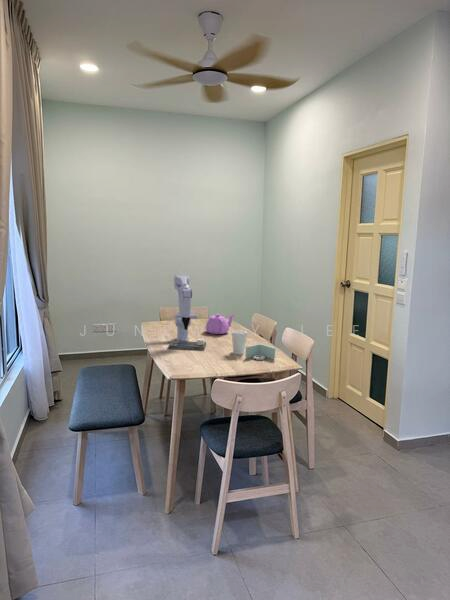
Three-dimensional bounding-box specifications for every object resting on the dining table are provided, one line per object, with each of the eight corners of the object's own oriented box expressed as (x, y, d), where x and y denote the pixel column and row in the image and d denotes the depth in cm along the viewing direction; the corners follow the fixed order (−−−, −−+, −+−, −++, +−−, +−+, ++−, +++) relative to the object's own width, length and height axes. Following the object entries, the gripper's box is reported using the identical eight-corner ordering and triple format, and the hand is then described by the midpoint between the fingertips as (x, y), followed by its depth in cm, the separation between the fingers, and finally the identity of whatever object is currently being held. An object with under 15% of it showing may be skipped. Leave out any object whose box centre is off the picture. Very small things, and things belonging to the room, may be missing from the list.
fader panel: (172, 343, 264) (172, 340, 264) (206, 345, 264) (206, 342, 263) (168, 348, 253) (168, 345, 252) (204, 350, 252) (204, 346, 252)
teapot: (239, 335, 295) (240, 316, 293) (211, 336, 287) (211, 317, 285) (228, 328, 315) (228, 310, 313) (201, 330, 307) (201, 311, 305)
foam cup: (232, 354, 244) (233, 333, 242) (229, 350, 253) (230, 330, 251) (247, 354, 246) (248, 333, 244) (244, 350, 255) (245, 329, 253)
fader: (197, 342, 260) (197, 338, 260) (204, 343, 260) (204, 338, 259) (197, 344, 255) (197, 340, 255) (203, 345, 255) (203, 340, 255)
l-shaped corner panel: (245, 359, 237) (245, 346, 236) (259, 355, 246) (259, 343, 244) (261, 364, 229) (261, 351, 228) (274, 360, 237) (275, 348, 236)
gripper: (173, 308, 255) (173, 330, 257) (197, 309, 254) (196, 331, 256) (175, 307, 262) (175, 327, 264) (198, 307, 261) (197, 328, 263)
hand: (185, 329), depth 260 cm, fingers closed
